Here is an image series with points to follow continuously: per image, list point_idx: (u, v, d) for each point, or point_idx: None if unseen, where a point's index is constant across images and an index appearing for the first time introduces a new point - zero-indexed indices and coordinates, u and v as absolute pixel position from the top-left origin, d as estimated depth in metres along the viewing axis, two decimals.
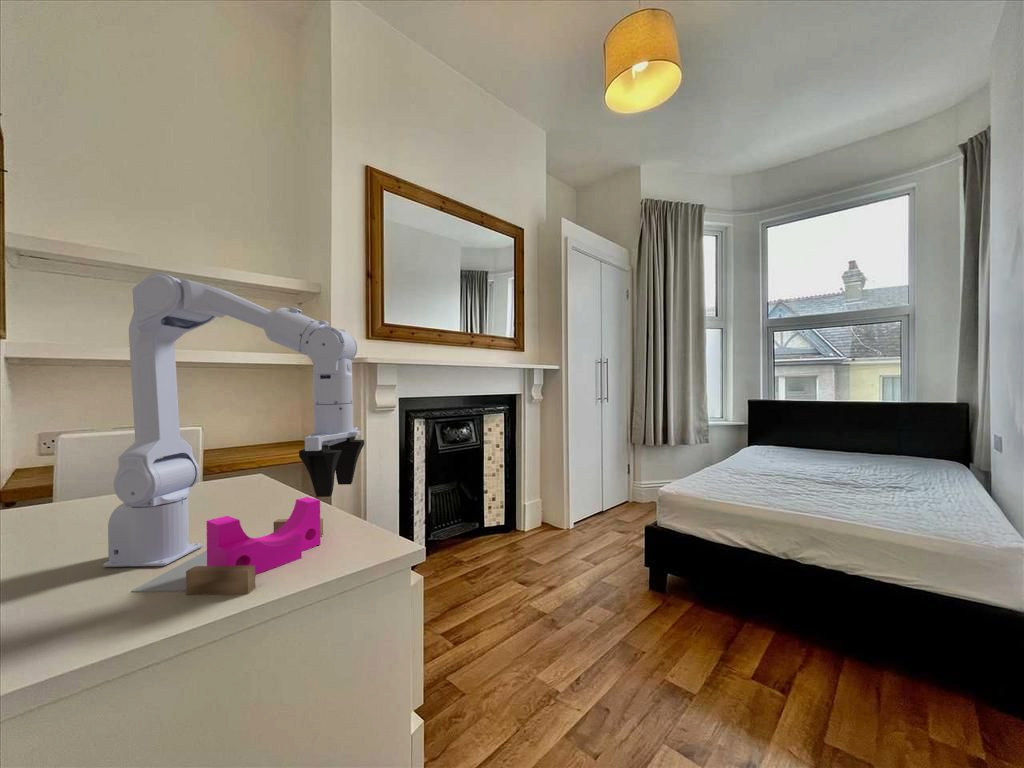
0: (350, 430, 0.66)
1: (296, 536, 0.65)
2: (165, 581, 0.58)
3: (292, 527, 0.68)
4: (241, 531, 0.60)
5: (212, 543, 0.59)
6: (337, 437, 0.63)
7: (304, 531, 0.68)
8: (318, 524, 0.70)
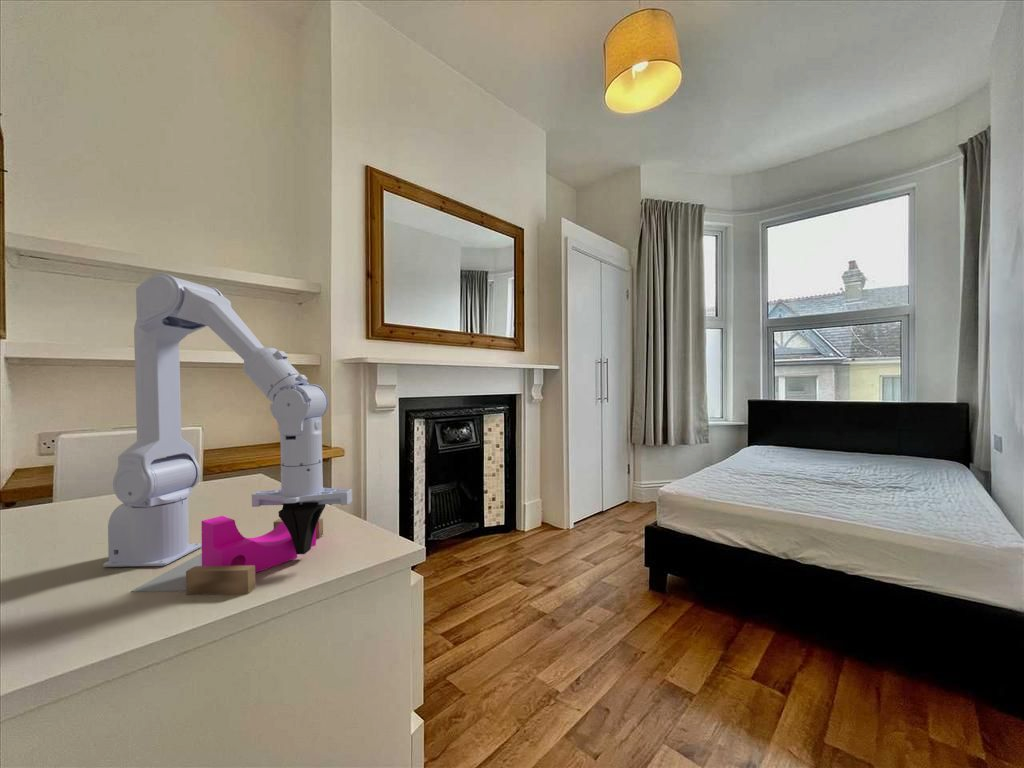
0: (289, 495, 0.62)
1: None
2: (165, 581, 0.58)
3: None
4: (236, 531, 0.60)
5: (207, 543, 0.59)
6: (272, 499, 0.62)
7: None
8: None
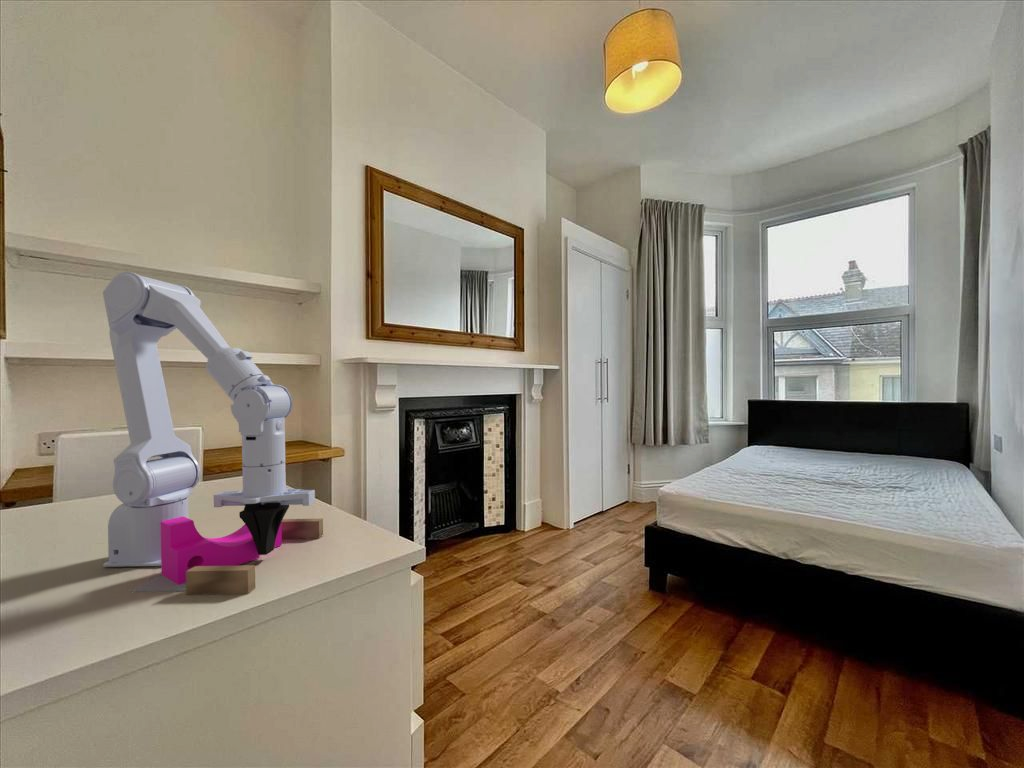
0: (250, 495, 0.62)
1: None
2: (165, 581, 0.58)
3: None
4: (195, 532, 0.60)
5: (165, 544, 0.59)
6: (234, 499, 0.62)
7: None
8: None
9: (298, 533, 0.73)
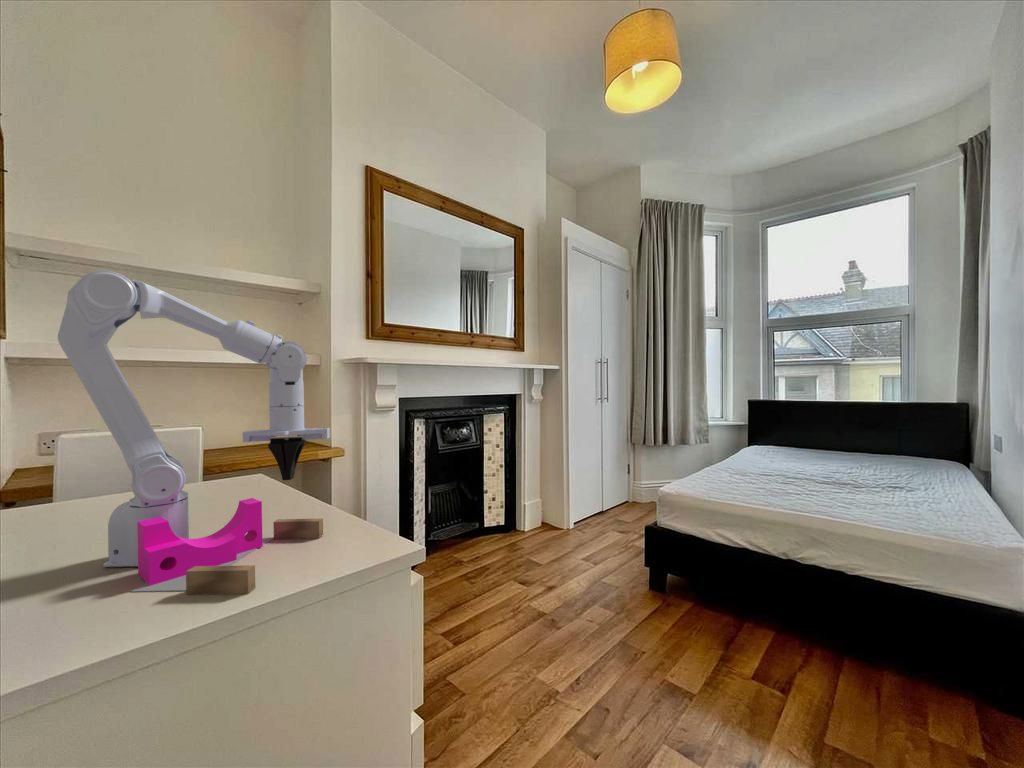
0: (279, 430, 0.76)
1: (231, 538, 0.65)
2: (165, 581, 0.58)
3: (231, 528, 0.67)
4: (170, 532, 0.60)
5: (140, 544, 0.59)
6: (263, 434, 0.76)
7: (243, 533, 0.68)
8: (260, 526, 0.70)
9: (298, 533, 0.73)
